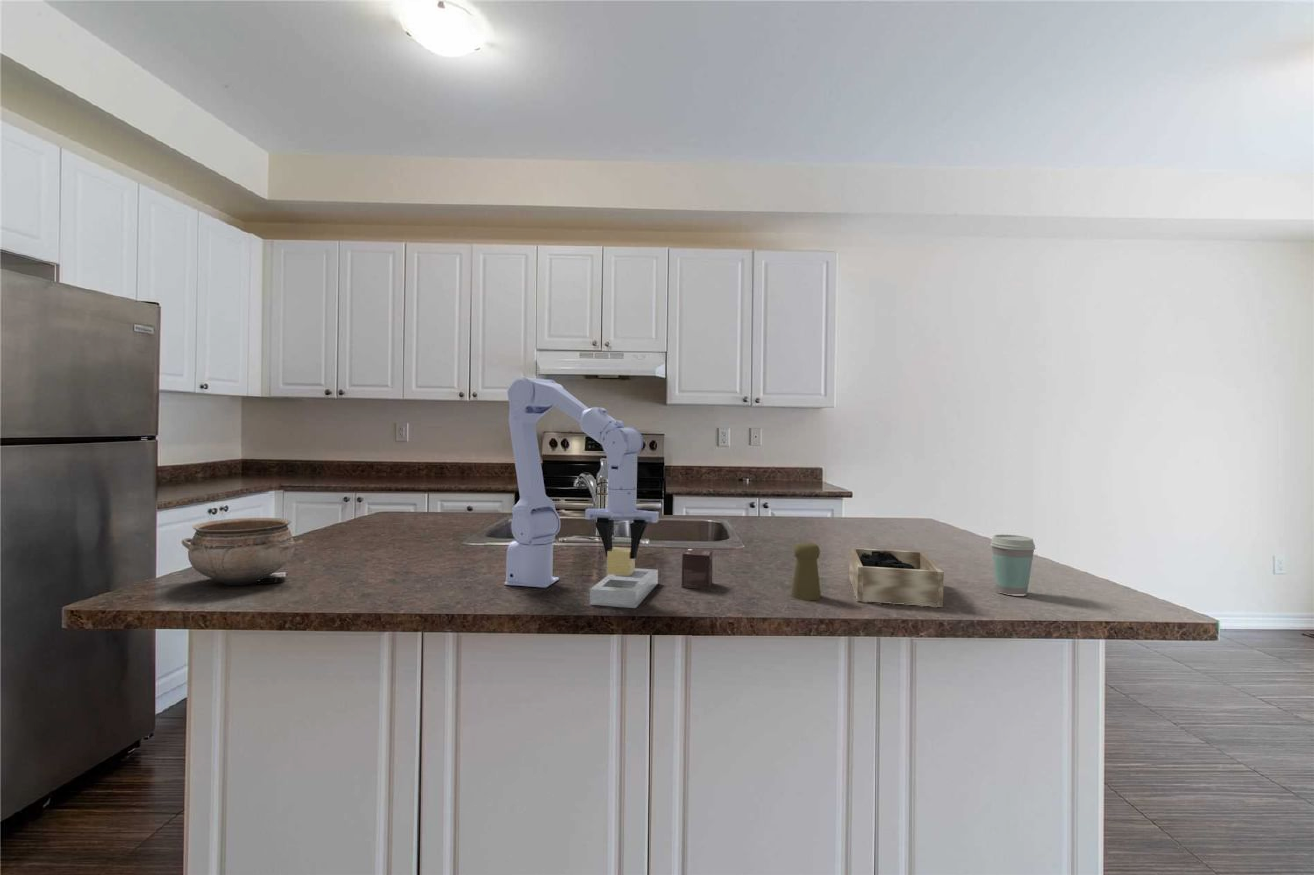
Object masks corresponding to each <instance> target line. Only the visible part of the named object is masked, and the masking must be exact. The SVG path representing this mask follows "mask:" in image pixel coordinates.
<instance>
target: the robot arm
mask: <svg viewBox="0 0 1314 875" xmlns="http://www.w3.org/2000/svg"><path fill="white" fill-rule="evenodd" d="M506 391H507V397H508V407H509V411H508V426H509V433H510V439H511V446H512V453H513V460H514V466H515V472H516V481H517V487H518V492H519V500H518V501H517V503H515V505H514V506H513V507H512V508H511V512H512V520H511V527H510V529H511V533H512V535H513V538H514V539H515V540H512V541H511V542H509V544H508V546H507V550H506V557H505V558H506V560H505V563H506V564H505V565H506V566H505V567H506V568H505V582H504V585H505V586H506V585H507V586H521V587H531V588H532V587H533V588H534V587H535V588H544V589H545V588H547V587H549V586H552V584H554V583H555V582H557V581H558V580H560V577H559V576H553V571H554V570H553V565H554V564H553V560H554V558H553V557H554V554H553V553H554V541H555V540H556V536H557V535H558V533H559V532H560V530H561V525H562V524H561V517H560V516H559V514H558V512H557V510H556V505H555V502H554V501H553V500H552V499H551V498H549V496H548V495H547V494H546V487H545V483H544V476H543V469H542V462H541V456H540V448H539V443H538V435H537V429H536V424H537V422H538V421H539V420H540V418H542V416H544V415H546V413H547V412H549V411H550V410H552V408H554V407H555V408H557V409H558V410H560V411H561V412H563V413H564V414H566V415H568V416H569V417H571V418H573V419H574V420H576V421H577V422H579V428H580V430H581V431H582V432H583V433H584V434H586V435H587V436H588V437H589V438H591V439H593V440H594V441H596V442H597V443H599V444H600V445H601V447H602V450H603V452H604V453H605V455H606V463H607V475H608V476H607V504H606V505H607V508H586V509H585V510H584V511H585V512H584V514H585V515H584V519H585V520H596V522H595V524H594V525H595V528H596V530H597V532H598V534H599V536H600V538H601V541H602V544H603V548H604V555H605V557H606V558H607V551H608V550H610V549H611V548H613V530H614V524H615V521H626V522H627V521H628V522H631V523H629V529H630V548H631V559H635V560H636V558H637V555H638V549H639V546H640V542H641V540H642V537H643V534H644V532H645V530H646V528H647V526H648V523H651V524H656V523H658V522H660V521H659V518H660V517H659V514H660V513H659V511H651V510H650V511H649V510H642V509H637V495H638V494H637V492H638V491H637V490H638V488H637V487H638V486H637V484H638V454H640V452H641V450H642V449H643V447H644V438H643V436H642V433H641V432H640V430H638V429H637V428H636V427H633V426H627V427H625V425H624V422H623V421H622V420H618V419H615V418H614V417H612V416H611V415H609V414H608V410H607V409H606V408H604V407H598V406H597V407H596V406H595V407H590V408H589V407H588V406H587V405H585V404H584V403H582V402H581V401H580V400H579V399H577V398H576V397H575V396H574V395H572V394H571V393H570V392H569V391H567V390H566V389H565V388H564V387H563V385H562V384H560V383H557V382H556V381H555V380H553V379H542V378H533V377H532V378H531V377H526V376H518V377H517V378H515V379H514V380H513V382H512V383H511V385H510V386H509V388H508V389H507V390H506ZM533 510H535V511H533Z"/></svg>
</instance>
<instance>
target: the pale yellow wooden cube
mask: <svg viewBox="0 0 1314 875" xmlns="http://www.w3.org/2000/svg"><path fill="white" fill-rule="evenodd" d="M635 568H636V558H635V559H631V547H617V546H612V548H611V549H610V550H608V551H607V557H606V574H607V575H609V574H613V575H626V576H629V575H630V574H632V573H633V572H634V571H635Z"/></svg>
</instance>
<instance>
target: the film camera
mask: <svg viewBox="0 0 1314 875" xmlns="http://www.w3.org/2000/svg"><path fill="white" fill-rule="evenodd" d="M859 559H860V561H861V563H862V565H863V566H868V567H884V568H901V569H915V568H914V566H912V565H911V564H909V563H902V561H899V560H898V559H897V558H896V557H895V556H893V555H892V554H891V553H889V552H880V551H872V554H871V555H870V554H866V553H863V554H862V555H861V557H860V558H859Z"/></svg>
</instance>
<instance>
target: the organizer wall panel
mask: <svg viewBox="0 0 1314 875" xmlns="http://www.w3.org/2000/svg"><path fill="white" fill-rule="evenodd" d="M855 548H856V547H849V572H848V574H849V576H848V578H849V581H851V582H850V584H852V585H851V587H853V588H852V590H854V591H853V593H855V594H854V596H856V597H855V599H857V600H856V602H857V601H862V600H863V565H862V563H861V561H860V559H859V557H858V555H857V552H856V550H855Z"/></svg>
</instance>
